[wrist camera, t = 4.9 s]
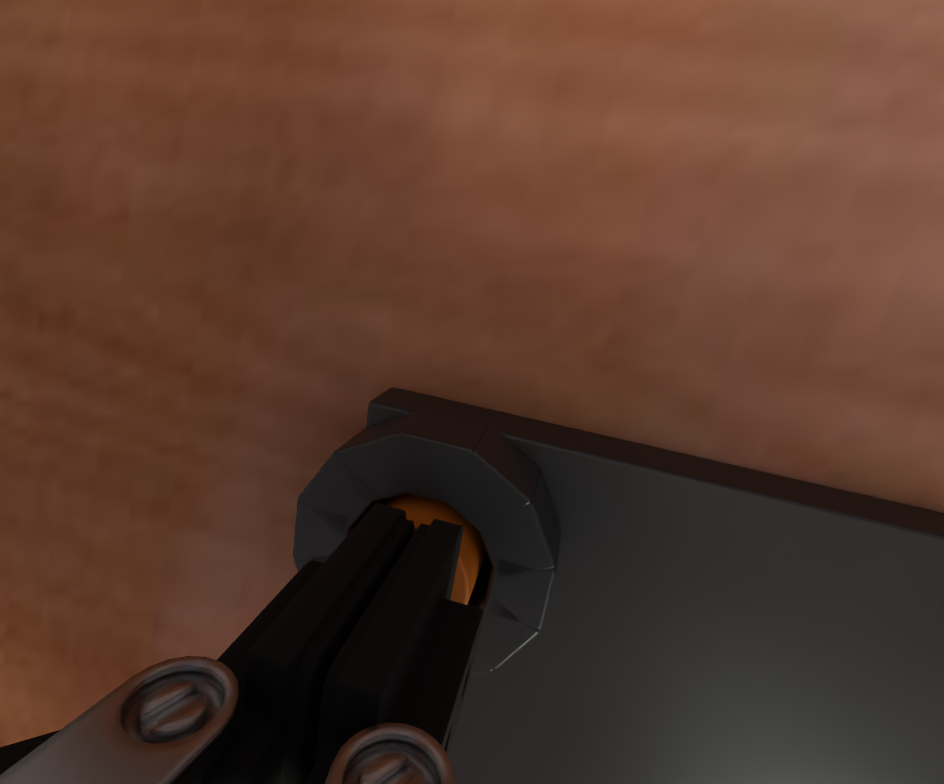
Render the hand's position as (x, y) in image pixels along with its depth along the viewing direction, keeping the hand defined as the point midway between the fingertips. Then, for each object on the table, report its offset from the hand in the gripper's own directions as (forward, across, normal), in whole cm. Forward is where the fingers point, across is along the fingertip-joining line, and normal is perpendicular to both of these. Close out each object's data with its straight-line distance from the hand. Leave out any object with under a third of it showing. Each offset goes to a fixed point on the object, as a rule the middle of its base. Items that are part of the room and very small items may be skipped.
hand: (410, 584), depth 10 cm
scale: (+4, -6, +4) cm, 8 cm away
